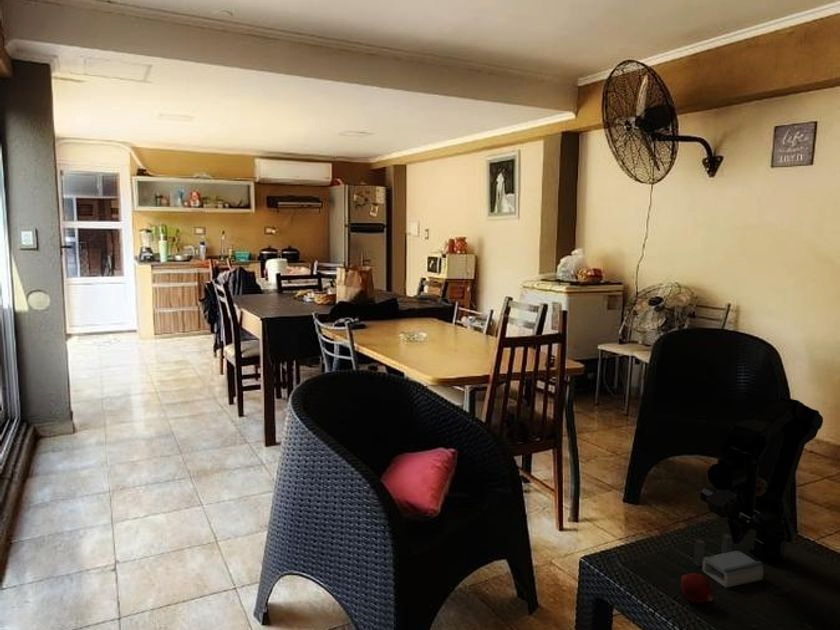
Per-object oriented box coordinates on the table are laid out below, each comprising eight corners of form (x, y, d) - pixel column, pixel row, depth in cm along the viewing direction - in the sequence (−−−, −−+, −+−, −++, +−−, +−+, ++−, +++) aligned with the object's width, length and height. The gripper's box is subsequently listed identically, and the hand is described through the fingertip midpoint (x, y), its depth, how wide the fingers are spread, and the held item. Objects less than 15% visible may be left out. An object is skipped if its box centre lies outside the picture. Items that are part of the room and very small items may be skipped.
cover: (737, 553, 148) (738, 548, 148) (762, 568, 142) (763, 563, 141) (703, 560, 145) (704, 555, 144) (727, 576, 138) (727, 571, 138)
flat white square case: (726, 556, 152) (729, 533, 151) (762, 579, 142) (765, 555, 141) (691, 563, 148) (693, 540, 147) (726, 587, 138) (728, 563, 137)
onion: (690, 585, 138) (719, 609, 131) (671, 591, 136) (699, 615, 129) (694, 563, 137) (723, 586, 130) (674, 568, 134) (703, 592, 127)
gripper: (685, 468, 145) (679, 529, 148) (750, 501, 128) (742, 570, 130) (721, 463, 149) (715, 522, 151) (789, 495, 132) (781, 562, 134)
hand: (736, 543), depth 142 cm, fingers closed
